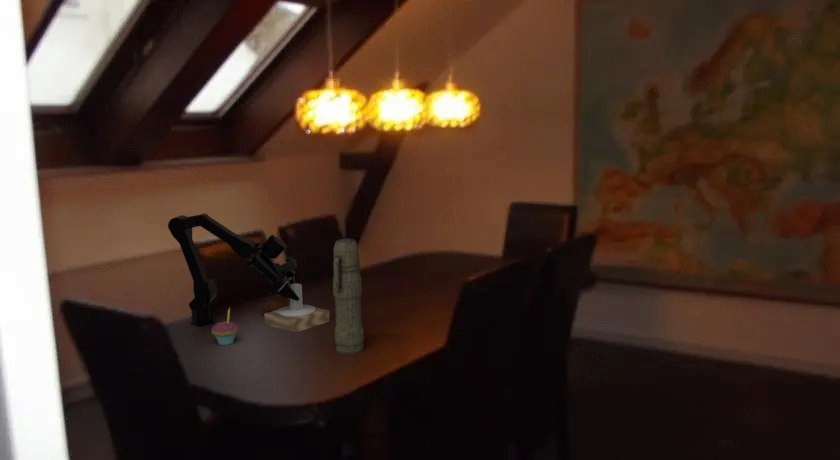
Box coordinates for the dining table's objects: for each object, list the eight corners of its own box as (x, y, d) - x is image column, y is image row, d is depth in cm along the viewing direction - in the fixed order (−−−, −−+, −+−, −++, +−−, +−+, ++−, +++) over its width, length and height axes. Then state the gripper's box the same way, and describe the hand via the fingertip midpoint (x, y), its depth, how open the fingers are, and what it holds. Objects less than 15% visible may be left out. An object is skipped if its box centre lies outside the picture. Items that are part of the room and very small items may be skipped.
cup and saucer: (286, 319, 268) (285, 303, 267) (256, 317, 271) (255, 301, 270) (300, 310, 280) (299, 294, 279) (271, 309, 283) (270, 293, 282)
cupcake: (241, 338, 246) (239, 303, 244) (236, 346, 238) (233, 310, 236) (215, 339, 246) (213, 304, 244) (209, 347, 238) (206, 311, 236)
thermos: (370, 345, 236) (367, 237, 231) (353, 357, 226) (349, 243, 220) (346, 342, 240) (342, 235, 234) (328, 354, 229) (323, 242, 223)
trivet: (295, 332, 252) (294, 321, 251) (264, 324, 262) (264, 313, 261) (329, 321, 264) (329, 310, 263) (299, 314, 274) (298, 303, 273)
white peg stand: (295, 319, 253) (293, 290, 252) (270, 313, 261) (268, 285, 260) (323, 310, 263) (321, 283, 261) (298, 305, 271) (297, 278, 270)
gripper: (275, 257, 250) (309, 288, 251) (288, 246, 268) (320, 276, 269) (254, 280, 251) (288, 311, 253) (268, 268, 270) (300, 297, 271)
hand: (300, 298), depth 261 cm, fingers closed on white peg stand, 4 cm apart
